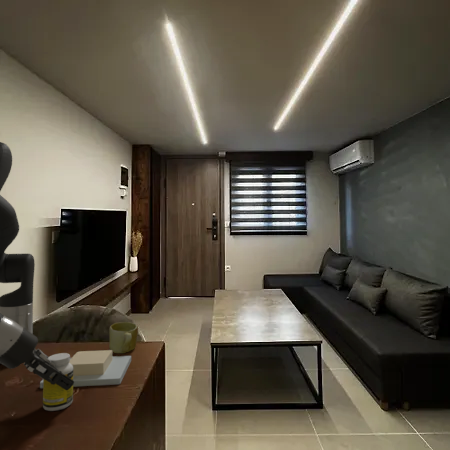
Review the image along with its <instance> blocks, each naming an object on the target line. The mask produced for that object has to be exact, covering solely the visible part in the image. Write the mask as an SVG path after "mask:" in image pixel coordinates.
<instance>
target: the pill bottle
mask: <svg viewBox="0 0 450 450" xmlns="http://www.w3.org/2000/svg"><path fill="white" fill-rule="evenodd" d="M70 358H71V355H70V354H69V353H67V352H61V353H55V354H52V355H50V356H48V359H49V360H50V361H52V362H53V363H54V364H55V368H57V369H58V370H59V371H62V373H63V374H64V375H66V376H67V377H69V378H70V379H72V380H73V365H72V364H70V363H69V362H70ZM49 365H50V364H49ZM55 374H56V373H55V372H53V373H52V374H51V375H50V377H51V378H52V377H53V376H54V375H55ZM42 380H43V388H42V389H43V390H42V408H43V409H44V410H45V411H48V412H54V411H56V412H57V411H60V410H64V409H66V408H68V407H69V406H70V405H71V404H72V403H73V401H74V387H73V385H72V386H71V388H70V389H69V390H65V389H63V388H62V387H60V386H59V385H57V384H56V383H55V385H53V384H51V383H50V382H48V381H47V380H45V379H43V378H42Z"/></svg>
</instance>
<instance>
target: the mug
mask: <svg viewBox="0 0 450 450" xmlns="http://www.w3.org/2000/svg"><path fill="white" fill-rule="evenodd" d="M138 327H139V326H138V325H137V324H136V323H135V322H134V323H133V322H130V321H120V322H119V321H117V322H114V323H113V324H111V325H110V326H109V330H108V332H109V333H108V335H109V345H108V348H109V349H108V350H112V353H113V352H114V353H113V354H126V352H127V353H128V352H131V351H133V350H134V349H136V346H137V340H138V333H139V328H138Z"/></svg>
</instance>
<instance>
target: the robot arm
mask: <svg viewBox="0 0 450 450" xmlns="http://www.w3.org/2000/svg"><path fill="white" fill-rule="evenodd" d="M12 166H13V155H12V150H11V148H10V147H9V146H8V145H7V143H4V142H1V141H0V192H1V191H2V189H3V187H4V186H5V183H6V182H7V180H8V177H9V175H10V174H11V170H12ZM19 232H20V224H19V220H18V215H17V212H16V210H15V207H13V205H12V204H11V203H10V202H9V201H8V200H7V199H6V198H4V197H3V196H2V195H1V194H0V283H1V284H13V283H14V284H16V283H20V286H19V287H17V289H15V290H13V291H10V292H8V293H5V294H2V295H0V364H1V365H3V366H4V367H6V368H7V369H10V370H11V369H15V368H17V367H19V366H20V365H22V364H23V365H24V366H25V369H27V370H28V371H29V372H30V373H33V374H34V375H37V376H38V377H39V378H41V379H42V380H43V379H45V380H47V381H48V382H50V383H51V384H53V385H55V383H56V384H57V385H59V386H60V387H62V388H63V389H65V390H69V389H70V388H71V386H72V385H73V384H74V381H73V380H72V379H70V378H69V377H67V376H66V375H64V374H63V373H62V371H59V370H58V369H57V368H55V364H54V363H53V362H52V361H50V360H49V359H48V357H49V356H48V355H47V354H45V353H44V352H43V351H42V350H41V349H40V348H37V349H36V347H37V345H38V343H39V339H38V338H39V337H37V336H36V335H35V334H33V333H34V332H33V329H34V328H33V327H34V325H33V324H34V323H33V322H34V321H33V319H34V317H33V316H34V315H33V314H34V311H33V310H34V309H33V308H34V281H35V280H34V277H35V265H36V264H35V263H36V262H35V258H34V256H33V255H32V254H31V253H6V252H5V251H6V250H7V249H8V247H9V246H10V245H11V244H12V243H13V242H14V240H16V238H17V236H18V235H19ZM49 364H50V365H49ZM53 372H55V373H56V374H55V375H54V376H53V377H52V378H51V377H50V375H51V374H52V373H53Z"/></svg>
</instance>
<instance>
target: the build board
mask: <svg viewBox="0 0 450 450" xmlns="http://www.w3.org/2000/svg"><path fill="white" fill-rule="evenodd" d="M131 362H132V355H121V356H120V355H119V356H118V355H116V356H113V352H112V350H110V349H107V350H104V349H103V350H85V351H84V350H83V351H81V350H80V351H77V352H76V353H75V354H73V356H72V357H70V362H69V363H70V364H72V365H73V381H74V384H73V388H74V387H75V388H76V387H87V386H88V387H90V386H92V387H93V386H110V385H112V386H113V385H121V383H122V381H123V380H124V379H123V378H124V377H125V375H126V373H127V370H128V368H129V366H130V364H131ZM39 389H43V379H42V380H40V382H39Z"/></svg>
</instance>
